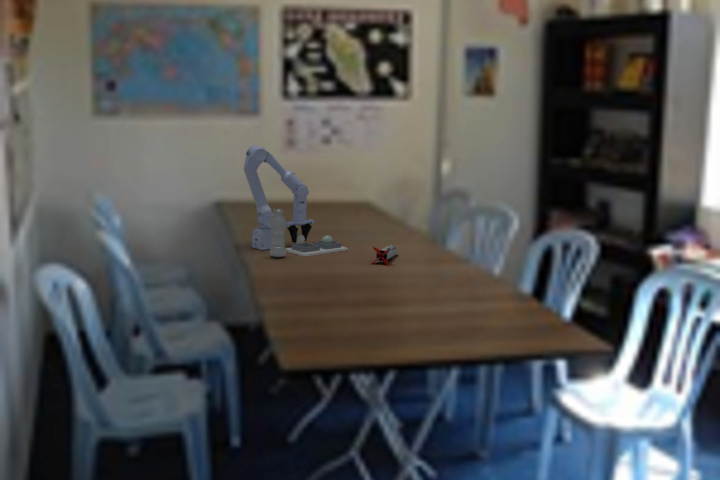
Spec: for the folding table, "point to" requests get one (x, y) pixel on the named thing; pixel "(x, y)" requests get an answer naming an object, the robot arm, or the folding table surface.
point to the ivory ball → (300, 239)
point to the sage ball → (327, 240)
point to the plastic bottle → (278, 234)
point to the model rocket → (385, 253)
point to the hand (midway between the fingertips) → (299, 241)
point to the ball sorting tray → (315, 248)
